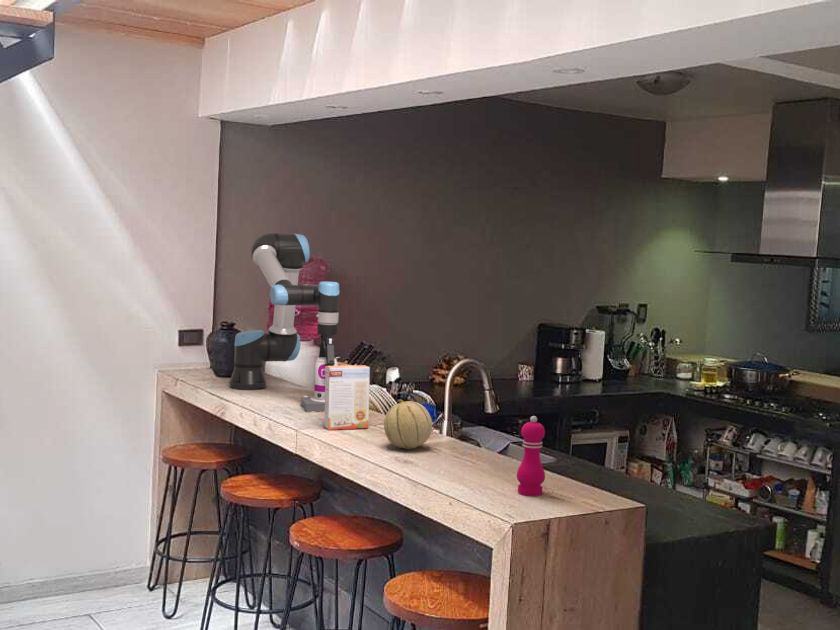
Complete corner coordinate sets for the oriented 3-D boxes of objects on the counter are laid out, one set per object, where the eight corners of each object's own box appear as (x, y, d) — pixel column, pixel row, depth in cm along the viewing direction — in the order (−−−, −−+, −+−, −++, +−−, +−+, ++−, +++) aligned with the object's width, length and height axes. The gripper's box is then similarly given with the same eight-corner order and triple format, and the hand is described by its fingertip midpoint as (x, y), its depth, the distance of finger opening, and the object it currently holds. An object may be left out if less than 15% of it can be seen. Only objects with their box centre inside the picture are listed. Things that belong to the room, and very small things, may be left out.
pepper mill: (545, 491, 251) (549, 414, 249) (542, 498, 244) (546, 419, 242) (518, 488, 252) (521, 412, 251) (513, 495, 245) (517, 417, 244)
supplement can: (335, 401, 353) (336, 360, 352) (312, 400, 354) (313, 359, 352) (337, 397, 362) (338, 357, 360) (315, 396, 362) (316, 356, 361)
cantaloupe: (434, 454, 289) (436, 404, 288) (385, 453, 287) (387, 403, 286) (427, 443, 304) (429, 396, 302) (380, 443, 301) (382, 395, 300)
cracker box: (363, 425, 328) (365, 364, 326) (368, 429, 322) (370, 367, 321) (323, 427, 323) (325, 364, 321) (327, 430, 317) (329, 367, 316)
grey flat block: (300, 405, 363) (301, 395, 362) (342, 404, 367) (343, 395, 366) (306, 411, 349) (306, 401, 349) (349, 411, 353) (350, 401, 353)
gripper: (312, 320, 367) (310, 375, 368) (323, 326, 343) (321, 386, 344) (332, 320, 369) (330, 376, 370) (344, 327, 344) (341, 386, 346)
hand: (325, 381), depth 357 cm, fingers open, 13 cm apart
